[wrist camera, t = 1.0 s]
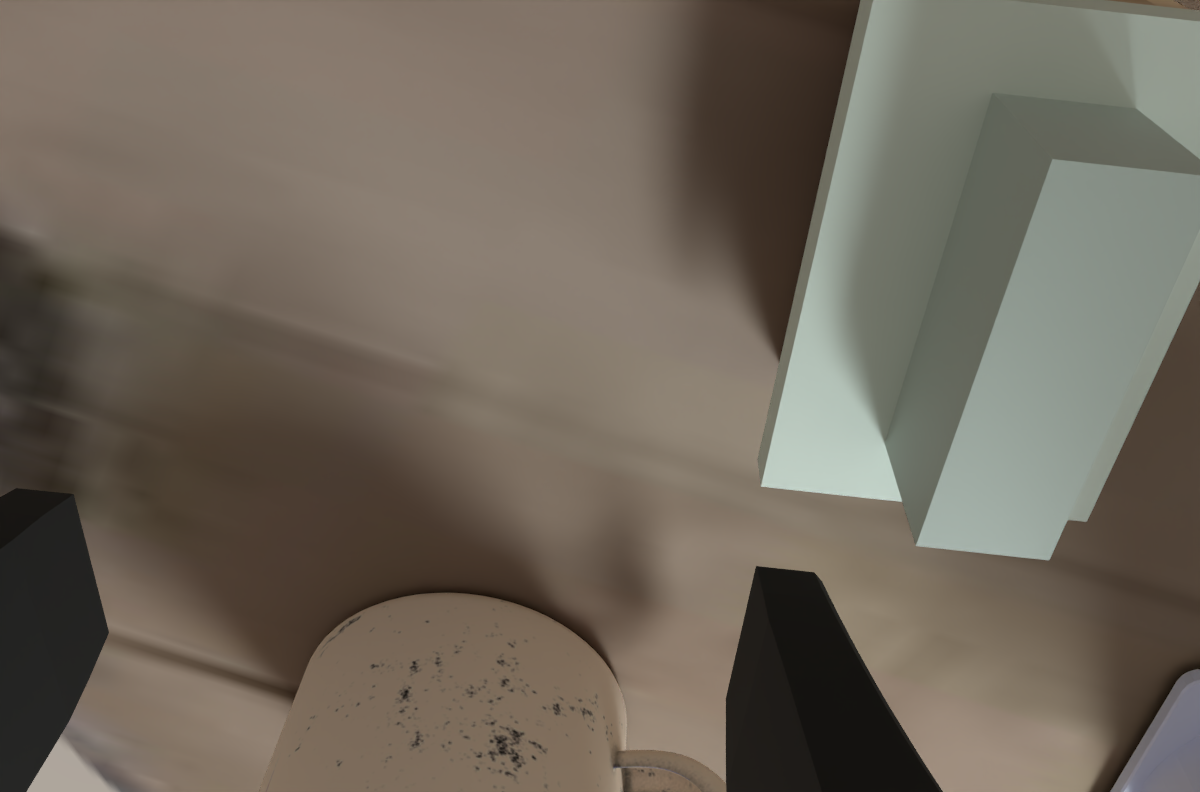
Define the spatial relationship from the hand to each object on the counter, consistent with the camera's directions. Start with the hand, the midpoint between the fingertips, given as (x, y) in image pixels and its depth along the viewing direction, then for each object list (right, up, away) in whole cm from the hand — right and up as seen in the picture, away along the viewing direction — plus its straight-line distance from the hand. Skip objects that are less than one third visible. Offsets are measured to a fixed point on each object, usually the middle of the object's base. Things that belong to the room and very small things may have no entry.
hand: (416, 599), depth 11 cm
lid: (+8, +4, +5) cm, 11 cm away
